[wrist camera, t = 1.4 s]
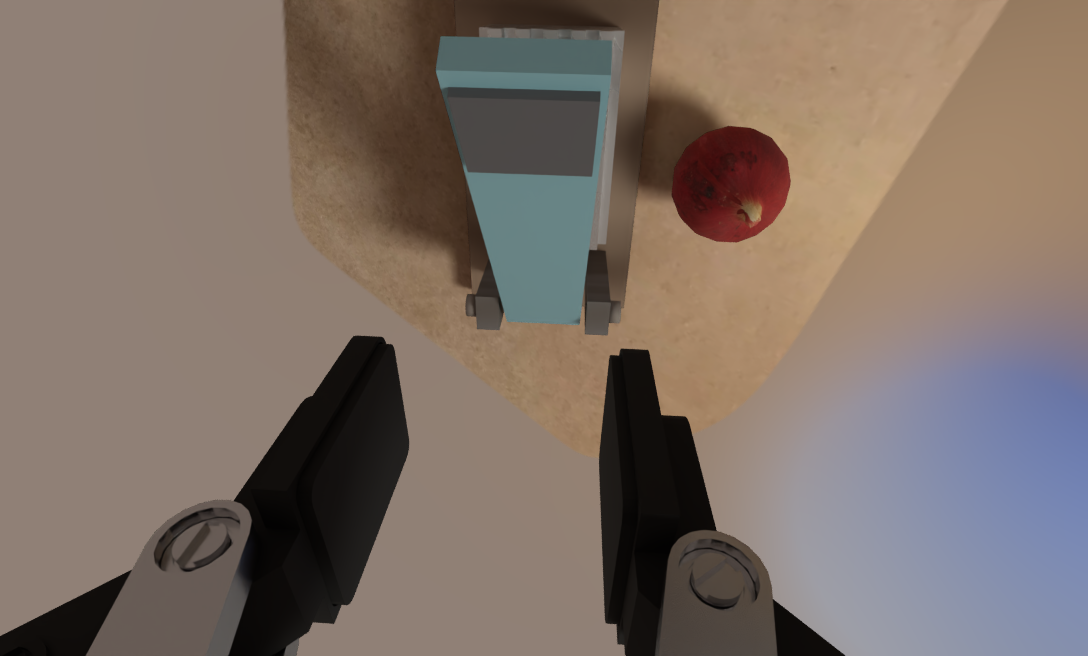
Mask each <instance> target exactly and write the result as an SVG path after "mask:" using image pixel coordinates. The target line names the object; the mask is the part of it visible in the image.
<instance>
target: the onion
mask: <svg viewBox="0 0 1088 656" xmlns="http://www.w3.org/2000/svg"><path fill="white" fill-rule="evenodd" d="M790 182H791V180H790V173H789V167H788V160H787V158H786V156H785V155H784V154H783V152H782V151H781V150H780V148H779V147H778V146H777V144H776V143H775V142H774V141H773V139H772V138H771V137H769V136H767V135H765V134H763V133H761V132H759V131H757V130H755V129H751V128H744V127H733V126H727V127H723V128H720V129H717V130H713V131H710V132H707V133H705V134H704V135H702V136H701V137H700V138H698V139H697V140H696V141H694V142H693V143H692V144H690V145H689V146H688V147H686V149H685V151H684V152H683V154H682V156H681V158H680V159H679V161H678V163H677V164H676V166H675V168H674V177H673V186H672V198H673V200H674V203H675V206H676V208H677V211H678V214H679V216H680V217H681V219H682V220H683V221H684V222H685V223H686V224H687V225H688V226H689V227H690V228H691V229H692V230H693V231H694V232H695V233H697V234H698V235H701V236H704V237H706V238H709V239H712V240H714V241H719V242H739V241H742V240H745V239H747V238H750V237H753V236H755V235H757V234H758V233H760V232H761V231H762V230H764V229H765V228H766V227H768V226H769V225H770V224H771V223H773V221H774V220H775V219H776V217H777V216H778V214H779V213H780V211H781V210H782V209H783V207H784V206H785V203H786V199H787V195H788V192H789V188H790Z"/></svg>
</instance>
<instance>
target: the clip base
mask: <svg viewBox="0 0 1088 656" xmlns="http://www.w3.org/2000/svg"><path fill="white" fill-rule="evenodd" d="M658 6H659V0H454V7H455V23H456V37H479V27H482V26H485V25H489V24H516V25H557V26H598V27H620V28H621V29H623V30H624V31H625V33H624V44H623V56H622V67H621V79H620V90H619V101H618V113H617V124H616V136H615V147H614V158H613V170H612V181H611V193H610V204H609V215H608V227H607V238H606V244H597V250H589V253H588V261H587V269H586V277H585V285H584V293H583V300H582V306H585V334H590V335H608V326H609V323H620V317H621V308H624V302H625V293H626V284H627V276H628V267H629V258H630V249H631V241H632V232H633V223H634V215H635V206H636V197H637V189H638V180H639V171H640V163H641V154H642V145H643V137H644V128H645V119H646V111H647V102H648V93H649V85H650V76H651V67H652V59H653V50H654V41H655V32H656V24H657V15H658ZM465 186H466V202H467V218H468V234H469V251H470V267H471V283H472V294H467V297H466V315H467V316H475V317H476V318H477V329H486V330H499V329H500V325H501V321H502V317H503V313H504V308H503V305H502V301H501V298H500V294H499V291H498V287H497V284H496V280H495V277H494V273H493V270H492V266H491V263H490V259H489V256H488V252H487V249H486V245H485V242H484V238H483V235H482V231H481V228H480V224H479V221H478V217H477V214H476V210H475V207H474V203H473V200H472V196H471V193H470V189H469V186H468V182H467V179H466V175H465Z"/></svg>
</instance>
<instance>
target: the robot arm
mask: <svg viewBox="0 0 1088 656" xmlns="http://www.w3.org/2000/svg"><path fill="white" fill-rule="evenodd" d="M408 450H409V436H408V430H407V424H406V418H405V412H404V405H403V400H402V393H401V387H400V381H399V375H398V368H397V363H396V356H395V350H394V347H393V345H391V344H386V342H385V340H384V338H383V337H372V336H353V338H352V339H351V340H350V341H349V343H348V344H347V346H346V347H345V349H344V350H343V352H342V353H341V355H340V356H339V357H338V359H337V360H336V362H335V363H334V365H333V366H332V368H331V370H330V371H329V372H328V374H327V375H326V377H325V378H324V380H323V381H322V383H321V384H320V386H319V387H318V389H317V390H316V391H315V393H314V395H313V396H310V397H308V398H306V399H305V400H304V401H303V402H302V403H301V404H300V406H299V407H298V408H297V410H296V412H295V413H294V414H293V416H292V417H291V419H290V420H289V421H288V423H287V424H286V426H285V427H284V429H283V430H282V432H281V433H280V434H279V436H278V437H277V439H276V440H275V442H274V443H273V445H272V446H271V448H270V449H269V450H268V452H267V453H266V455H265V456H264V458H263V459H262V461H261V462H260V463H259V465H258V466H257V468H256V469H255V471H254V472H253V474H252V475H251V476H250V478H249V479H248V481H247V482H246V484H245V485H244V487H243V488H242V489H241V491H240V492H239V494H238V495H237V497H236V498H235V500H234V501H231V500H213V501H208V502H204V503H200V504H197V505H195V506H192V507H190V508H188V509H185V510H183V511H181V512H180V513H178V514H177V515H175V516H174V517H172V518H170V519H169V520H167V521H166V522H165V523H164V524H163V525H162V526H161V527H160V528H159V529H158V530H156V531H155V533H154V534H153V535H152V537H151V538H150V539H149V541H148V542H147V544H146V545H145V547H144V549H143V551H142V553H141V555H140V557H139V558H138V560H137V562H136V564H135V566H134V567H133V569H132V570H130V571H128V572H126V573H124V574H122V575H120V576H118V577H116V578H114V579H112V580H110V581H109V582H106V583H105V584H103V585H101V586H99V587H97V588H95V589H93V590H91V591H89V592H87V593H85V594H83V595H81V596H79V597H77V598H75V599H73V600H71V601H69V602H67V603H65V604H63V605H61V606H59V607H57V608H55V609H53V610H51V611H49V612H47V613H45V614H43V615H41V616H39V617H37V618H35V619H33V620H31V621H29V622H27V623H25V624H23V625H21V626H19V627H17V628H15V629H14V630H11V631H9V632H8V633H6V634H4V635H2V636H0V656H296V655H297V650H298V646H299V638H300V637H301V636H303V635H304V634H306V633H307V632H309V629H310V627H311V625H312V623H313V622H318V623H331V624H334V622H335V620H336V618H337V615H338V613H339V610H340V608H341V605H348V604H350V602H351V601H352V599H353V597H354V595H355V592H356V589H357V587H358V584H359V581H360V579H361V576H362V574H363V571H364V568H365V566H366V563H367V561H368V558H369V555H370V553H371V550H372V547H373V545H374V542H375V540H376V537H377V534H378V532H379V529H380V526H381V524H382V521H383V518H384V516H385V513H386V510H387V508H388V505H389V503H390V500H391V497H392V495H393V492H394V489H395V487H396V484H397V482H398V479H399V476H400V474H401V471H402V468H403V466H404V463H405V461H406V458H407V455H408ZM599 474H600V501H601V528H602V554H603V577H604V578H603V580H604V606H605V621H606V623H608V624H617V642H618V644H622V645H624V646H625V655H626V656H845V655H844V654H843V653H841V652H840V651H839V650H837V649H836V648H835V647H834V646H832V645H831V644H830V643H829V642H827V641H826V640H825V639H823V638H822V637H821V636H820V635H818V634H817V633H816V632H814V631H813V630H812V629H811V628H809V627H808V626H807V625H805V624H804V623H803V622H802V621H800V620H799V619H798V618H797V617H795V616H794V615H793V614H791V613H790V612H789V611H788V610H786V609H785V608H784V607H783V606H781V605H780V604H779V603H777V602H776V601H775V600H774V599H773V596H772V586H771V582H770V578H769V574H768V571H767V569H766V568H765V566H764V564H763V563H762V561H761V559H760V558H759V557H758V556H757V555H756V554H755V553H754V552H753V551H752V550H751V549H750V548H749V547H748V546H747V545H746V544H744V543H742V542H741V541H739V540H738V539H736V538H735V537H732V536H730V535H727V534H724V533H722V532H718V531H717V530H716V527H715V522H714V519H713V515H712V511H711V507H710V504H709V499H708V495H707V491H706V487H705V483H704V479H703V475H702V471H701V468H700V463H699V460H698V456H697V452H696V448H695V444H694V440H693V436H692V432H691V428H690V424H689V422H688V419H687V418H686V417H684V416H666V415H661V411H660V406H659V401H658V396H657V391H656V385H655V380H654V375H653V370H652V365H651V359H650V354H649V351H648V350H639V349H621V350H620V354H619V356H617V355H610V358H609V366H608V376H607V386H606V395H605V405H604V414H603V424H602V433H601V443H600V454H599Z"/></svg>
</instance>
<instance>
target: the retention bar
mask: <svg viewBox="0 0 1088 656" xmlns="http://www.w3.org/2000/svg"><path fill="white" fill-rule="evenodd" d="M611 66H612V41H611V40H572V39H532V38H493V37H453V36H441V38H440V44H439V51H438V58H437V64H436V74H437V77H438V81H439V84H440V88H441V91H442V95H443V98H444V102H445V105H446V109H447V112H448V116H449V119H450V123H451V126H452V130H453V133H454V137H455V140H456V144H457V147H458V151H459V154H460V158H461V161H462V165H463V168H464V172H465V175H466V179H467V182H468V186H469V189H470V193H471V196H472V200H473V203H474V207H475V210H476V214H477V217H478V221H479V224H480V228H481V231H482V235H483V238H484V242H485V245H486V249H487V252H488V256H489V259H490V263H491V266H492V270H493V273H494V277H495V280H496V284H497V287H498V291H499V294H500V298H501V301H502V305H503V308H504V312H505V315H506V319H507V322H528V323H549V324H570V325H579V324H580V316H581V308H582V300H583V293H584V285H585V277H586V269H587V261H588V253H589V246H590V238H591V230H592V222H593V214H594V206H595V199H596V191H597V183H598V175H599V167H600V160H601V152H602V144H603V136H604V128H605V120H606V113H607V105H608V97H609V89H610V81H611Z"/></svg>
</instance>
